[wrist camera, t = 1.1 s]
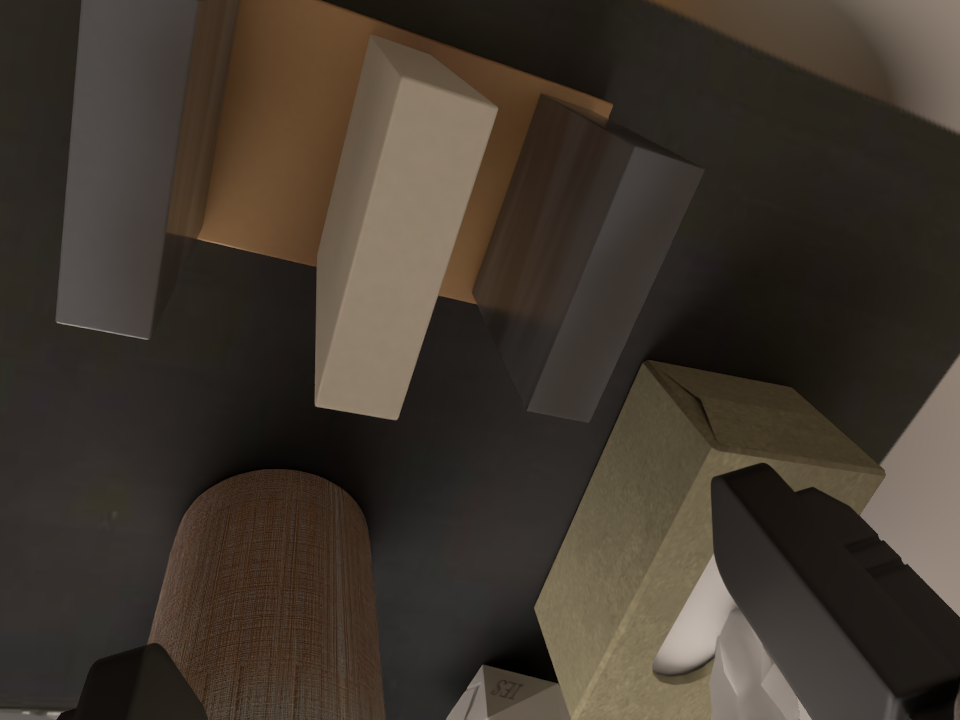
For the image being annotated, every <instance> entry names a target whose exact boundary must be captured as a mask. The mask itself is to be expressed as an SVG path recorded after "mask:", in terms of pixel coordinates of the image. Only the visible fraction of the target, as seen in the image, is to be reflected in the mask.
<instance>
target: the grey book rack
mask: <svg viewBox="0 0 960 720" xmlns="http://www.w3.org/2000/svg"><path fill="white" fill-rule="evenodd" d="M370 35H375V36H378V37H381V38H384V39H387V40H390V41H392V42H395V43H398V44H401V45H404V46H407V47H410V48H413V49H416V50H419V51H421V52H424V53H427V54H430V55H431V56H433V57H434V58H435V59H437V60H438V61H439V62H440V63H442V64H443V65H444V66H446V67H447V68H448V69H449V70H451V71H452V72H453V73H455V74H456V75H457V76H458V77H460V78H461V79H462V80H464V81H465V82H466V83H467V84H469V85H470V86H471V87H473V88H474V89H475V90H476V91H478V92H479V93H480V94H482V95H483V96H484V97H485V98H487V99H488V100H489V101H491V102H492V103H493V104H495V105H496V106H497V107H498V112H497V115H496V118H495V121H494V124H493V127H492V130H491V134H490V137H489V140H488V143H487V146H486V149H485V152H484V155H483V158H482V161H481V164H480V167H479V171H478V174H477V177H476V180H475V183H474V186H473V189H472V192H471V195H470V198H469V201H468V204H467V208H466V211H465V214H464V217H463V220H462V223H461V226H460V229H459V232H458V235H457V238H456V241H455V245H454V248H453V251H452V254H451V257H450V260H449V263H448V266H447V269H446V272H445V275H444V278H443V282H442V285H441V288H440V291H439V294H438V295H439V296H443V297H447V298H452V299H456V300H460V301H465V302H469V303H473V304H477V305H478V308H479V310H480V312H481V314H482V316H483V318H484V320H485V323H486V325H487V327H488V329H489V331H490V333H491V335H492V338H493V340H494V342H495V344H496V346H497V348H498V351H499V353H500V355H501V357H502V359H503V361H504V363H505V366H506V368H507V370H508V372H509V374H510V376H511V378H512V381H513V383H514V385H515V387H516V389H517V391H518V394H519V396H520V398H521V400H522V402H523V404H524V406H525V409H526V410H527V411H530V412H535V413H541V414H546V415H551V416H557V417H562V418H567V419H573V420H578V421H583V422H590V420H591V418H592V416H593V413H594V411H595V409H596V407H597V405H598V402H599V400H600V398H601V396H602V394H603V391H604V389H605V387H606V385H607V383H608V381H609V378H610V376H611V374H612V372H613V370H614V367H615V365H616V363H617V361H618V359H619V357H620V354H621V352H622V350H623V348H624V346H625V343H626V341H627V339H628V337H629V335H630V333H631V330H632V328H633V326H634V324H635V322H636V319H637V317H638V315H639V313H640V311H641V308H642V306H643V304H644V302H645V300H646V298H647V295H648V293H649V291H650V289H651V287H652V284H653V282H654V280H655V278H656V276H657V274H658V271H659V269H660V267H661V265H662V263H663V260H664V258H665V256H666V254H667V252H668V250H669V247H670V245H671V243H672V241H673V239H674V236H675V234H676V232H677V230H678V228H679V225H680V223H681V221H682V219H683V217H684V215H685V212H686V210H687V208H688V206H689V204H690V201H691V199H692V197H693V195H694V193H695V191H696V188H697V186H698V184H699V182H700V180H701V177H702V175H703V173H704V171H705V169H704V168H702V167H700V166H698V165H697V164H695V163H693V162H691V161H689V160H687V159H685V158H683V157H681V156H679V155H677V154H675V153H673V152H671V151H670V150H668V149H666V148H664V147H662V146H660V145H658V144H656V143H654V142H652V141H650V140H648V139H646V138H644V137H643V136H641V135H639V134H637V133H635V132H633V131H631V130H629V129H627V128H625V127H623V126H621V125H619V124H617V123H615V122H614V121H612V120H610V119H608V117H609V115H610V112H611V110H612V107H613V104H612V103H610V102H608V101H606V100H603V99H601V98H598V97H595V96H592V95H589V94H586V93H584V92H581V91H578V90H575V89H572V88H569V87H567V86H564V85H561V84H558V83H555V82H552V81H550V80H547V79H544V78H541V77H538V76H535V75H533V74H530V73H527V72H524V71H521V70H518V69H516V68H513V67H510V66H507V65H504V64H501V63H499V62H496V61H493V60H490V59H487V58H484V57H482V56H479V55H476V54H473V53H470V52H467V51H465V50H462V49H459V48H456V47H453V46H450V45H448V44H445V43H442V42H439V41H436V40H433V39H431V38H428V37H425V36H422V35H419V34H416V33H414V32H411V31H408V30H405V29H402V28H399V27H397V26H394V25H391V24H388V23H385V22H382V21H380V20H377V19H374V18H371V17H368V16H365V15H363V14H360V13H357V12H354V11H351V10H348V9H346V8H343V7H340V6H337V5H334V4H331V3H329V2H326V1H323V0H81V12H80V25H79V37H78V49H77V61H76V74H75V86H74V98H73V110H72V123H71V135H70V147H69V160H68V172H67V184H66V196H65V209H64V221H63V233H62V246H61V258H60V270H59V282H58V295H57V307H56V319H55V320H56V322H57V323H61V324H66V325H71V326H77V327H82V328H88V329H93V330H98V331H104V332H109V333H114V334H120V335H125V336H130V337H136V338H141V339H146V340H149V339H150V338H151V337H152V334H153V332H154V330H155V328H156V326H157V324H158V322H159V319H160V317H161V315H162V313H163V311H164V309H165V306H166V304H167V302H168V300H169V298H170V296H171V294H172V291H173V289H174V287H175V285H176V283H177V281H178V279H179V276H180V274H181V272H182V270H183V268H184V266H185V263H186V261H187V259H188V257H189V255H190V253H191V251H192V248H193V246H194V244H195V242H196V240H197V239H199V240H203V241H208V242H212V243H216V244H220V245H225V246H229V247H233V248H237V249H242V250H246V251H250V252H255V253H259V254H263V255H267V256H272V257H276V258H280V259H285V260H289V261H293V262H297V263H302V264H306V265H310V266H315V267H317V254H318V249H319V245H320V241H321V237H322V233H323V229H324V224H325V220H326V216H327V212H328V208H329V204H330V200H331V195H332V191H333V187H334V183H335V179H336V175H337V171H338V166H339V162H340V158H341V154H342V150H343V146H344V141H345V137H346V133H347V129H348V125H349V121H350V117H351V112H352V108H353V104H354V100H355V96H356V92H357V88H358V83H359V79H360V75H361V71H362V67H363V63H364V58H365V54H366V50H367V46H368V42H369V38H370Z"/></svg>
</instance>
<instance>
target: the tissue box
mask: <svg viewBox="0 0 960 720" xmlns="http://www.w3.org/2000/svg"><path fill="white" fill-rule="evenodd" d="M761 462H763V463H767V464H768V465H770V466H771V467H772V468H773V469H774V470H775V471H776V472H777V473H778V474H779V475H780V476H781V477H782V478H783V480H784V481H785V482H786V483H787V484H788V485H789V486H790V487H791V488H792V489H793V491H794V492H797V491H800V490H803V489H806V488H810V487H815V488H817V489H818V490H820V491H822V492H824V493H826V494H828V495H830V496H832V497H833V498H835V499H837V500H839V501H841V502H843V503H845V504H847V505H849V506H850V507H851V508H852V509H853V510H854V511H855V512H856V513H857V514H858V515H859V516H860V514H861V512H862V511H863V509H864V508H865V506H866V505H867V503H868V502H869V500H870V499H871V497H872V496H873V494H874V493H875V491H876V490H877V488H878V487H879V485H880V484H881V482H882V481H883V479H884V478H885V475H886V474H885V470H884V469H883V468H882V467H881V466H879V465H878V464H877V463H876V462H875V461H874V460H873V459H872V458H870V457H869V456H868V455H867V454H866V453H865V452H864V451H863V450H861V449H860V448H859V447H858V446H857V445H856V444H855V443H854V442H852V441H851V440H850V439H849V438H848V437H847V436H846V435H845V434H843V433H842V432H841V431H840V430H839V429H838V428H837V427H836V426H834V425H833V424H832V423H831V422H830V421H829V420H828V419H827V418H825V417H824V416H823V415H822V414H821V413H820V412H819V411H818V410H816V409H815V408H814V407H813V406H812V405H811V404H810V403H809V402H808V401H806V400H805V399H804V398H803V397H802V396H801V395H800V394H799V393H797V392H796V391H795V390H794V389H793V388H792V387H787V386H782V385H777V384H772V383H766V382H761V381H756V380H751V379H746V378H740V377H735V376H730V375H725V374H720V373H714V372H709V371H704V370H699V369H694V368H688V367H683V366H678V365H673V364H668V363H662V362H657V361H652V360H646V361H644V362H643V363H642V365H641V367H640V369H639V372H638V374H637V376H636V378H635V381H634V383H633V385H632V387H631V390H630V392H629V394H628V396H627V399H626V401H625V403H624V406H623V408H622V410H621V412H620V415H619V417H618V419H617V421H616V424H615V426H614V428H613V430H612V433H611V435H610V437H609V439H608V442H607V444H606V446H605V448H604V451H603V453H602V455H601V458H600V460H599V462H598V464H597V467H596V469H595V471H594V473H593V476H592V478H591V480H590V482H589V485H588V487H587V489H586V491H585V494H584V496H583V498H582V500H581V503H580V505H579V507H578V510H577V512H576V514H575V516H574V519H573V521H572V523H571V525H570V528H569V530H568V532H567V534H566V537H565V539H564V541H563V543H562V546H561V548H560V550H559V552H558V555H557V557H556V559H555V562H554V564H553V566H552V568H551V571H550V573H549V575H548V577H547V580H546V582H545V584H544V586H543V589H542V591H541V593H540V595H539V598H538V600H537V602H536V604H535V607H534V609H535V612H536V615H537V618H538V621H539V624H540V627H541V630H542V633H543V636H544V639H545V642H546V645H547V648H548V651H549V654H550V657H551V660H552V663H553V666H554V669H555V672H556V675H557V678H558V681H559V684H560V688H561V691H562V694H563V697H564V700H565V703H566V706H567V709H568V712H569V715H570V718H571V719H572V720H800V712H799V707H798V702H797V697H796V694H795V693H794V691H793V690H792V688H791V687H790V685H789V684H788V682H787V681H786V679H785V677H784V676H783V674H782V673H781V671H780V670H779V668H778V667H777V665H776V664H775V662H774V661H773V659H772V658H771V656H770V655H769V653H768V652H767V650H766V649H765V647H764V645H763V644H762V642H761V641H760V639H759V638H758V636H757V635H756V633H755V632H754V630H753V629H752V627H751V626H750V624H749V623H748V621H747V620H746V618H745V617H744V615H743V613H742V612H741V610H740V609H739V607H738V606H737V604H736V603H735V601H734V600H733V598H732V597H731V595H730V594H729V592H728V590H727V588H726V587H725V585H724V583H723V580H722V578H721V576H720V573H719V570H718V568H717V564H716V561H715V557H714V550H713V530H712V508H711V480H712V478H713V477H715V476H718V475H721V474H725V473H728V472H731V471H735V470H738V469H741V468H745V467H748V466H751V465H755V464H758V463H761Z"/></svg>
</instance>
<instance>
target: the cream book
mask: <svg viewBox="0 0 960 720" xmlns="http://www.w3.org/2000/svg"><path fill="white" fill-rule="evenodd" d="M497 112H498V107H497V106H496V105H495V104H493V103H492V102H491V101H489V100H488V99H487V98H485V97H484V96H483V95H482V94H480V93H479V92H478V91H476V90H475V89H474V88H473V87H471V86H470V85H469V84H467V83H466V82H465V81H464V80H462V79H461V78H460V77H458V76H457V75H456V74H455V73H453V72H452V71H451V70H449V69H448V68H447V67H446V66H444V65H443V64H442V63H440V62H439V61H438V60H437V59H435V58H434V57H433V56H431V55H430V54H427V53H424V52H421V51H419V50H416V49H413V48H410V47H407V46H404V45H401V44H398V43H395V42H392V41H390V40H387V39H384V38H381V37H378V36H375V35H370V38H369V42H368V46H367V50H366V54H365V58H364V63H363V67H362V71H361V75H360V79H359V83H358V88H357V92H356V96H355V100H354V104H353V108H352V112H351V117H350V121H349V125H348V129H347V133H346V137H345V141H344V146H343V150H342V154H341V158H340V162H339V166H338V171H337V175H336V179H335V183H334V187H333V191H332V195H331V200H330V204H329V208H328V212H327V216H326V220H325V224H324V229H323V233H322V237H321V241H320V245H319V249H318V254H317V290H316V351H315V406H317V407H321V408H327V409H333V410H339V411H345V412H351V413H356V414H362V415H368V416H374V417H380V418H386V419H392V420H397V419H398V417H399V414H400V411H401V408H402V405H403V402H404V399H405V396H406V393H407V390H408V386H409V383H410V380H411V377H412V374H413V371H414V368H415V365H416V362H417V359H418V356H419V353H420V349H421V346H422V343H423V340H424V337H425V334H426V331H427V328H428V325H429V322H430V319H431V316H432V312H433V309H434V306H435V303H436V300H437V297H438V294H439V291H440V288H441V285H442V282H443V278H444V275H445V272H446V269H447V266H448V263H449V260H450V257H451V254H452V251H453V248H454V245H455V241H456V238H457V235H458V232H459V229H460V226H461V223H462V220H463V217H464V214H465V211H466V208H467V204H468V201H469V198H470V195H471V192H472V189H473V186H474V183H475V180H476V177H477V174H478V171H479V167H480V164H481V161H482V158H483V155H484V152H485V149H486V146H487V143H488V140H489V137H490V134H491V130H492V127H493V124H494V121H495V118H496V115H497Z"/></svg>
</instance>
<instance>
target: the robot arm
mask: <svg viewBox="0 0 960 720" xmlns="http://www.w3.org/2000/svg"><path fill="white" fill-rule="evenodd" d="M711 508H712V530H713V550H714V557H715V561H716V564H717V568H718V570H719V573H720V576H721V578H722V580H723V583H724V585H725V587H726V588H727V590H728V592H729V594H730V595H731V597H732V598H733V600H734V601H735V603H736V604H737V606H738V607H739V609H740V610H741V612H742V613H743V615H744V617H745V618H746V620H747V621H748V623H749V624H750V626H751V627H752V629H753V630H754V632H755V633H756V635H757V636H758V638H759V639H760V641H761V642H762V644H763V645H764V647H765V649H766V650H767V652H768V653H769V655H770V656H771V658H772V659H773V661H774V662H775V664H776V665H777V667H778V668H779V670H780V671H781V673H782V674H783V676H784V677H785V679H786V681H787V682H788V684H789V685H790V687H791V688H792V690H793V691H794V693H795V694H796V696H797V697H798V699H799V700H800V702H801V703H802V705H803V706H804V708H805V709H806V711H807V713H808V714H809V716H810V717H811V719H812V720H960V617H959V616H958V615H957V614H956V613H955V612H954V611H953V610H952V609H951V608H950V607H949V606H948V605H947V604H946V603H945V602H944V601H943V600H942V599H941V598H940V597H939V596H938V595H937V594H936V593H935V592H934V591H933V590H932V589H931V588H930V587H929V586H928V585H927V584H926V583H925V582H924V581H923V579H921V578H920V576H919V575H917V574H916V572H915V571H914V570H913V569H912V568H911V567H910V566H909V565H908V564H906V565H904V564H903V562H902V560H901V557H900V556H899V555H898V554H897V553H896V552H895V551H894V550H893V549H892V548H891V547H890V546H889V545H888V544H887V543H886V542H885V541H883V540H882V541H881V540H880V539H879V537H878V534H877V533H876V532H875V531H874V530H873V529H872V528H871V527H870V526H869V525H868V524H867V523H866V522H865V521H864V520H863V519H862V518H861V517H860V516H859V515H858V514H857V513H856V512H855V511H854V510H853V509H852V508H851V507H850V506H849V505H847V504H845V503H843V502H841V501H839V500H837V499H835V498H833V497H832V496H830V495H828V494H826V493H824V492H822V491H820V490H818V489H817V488H815V487H810V488H806V489H803V490H800V491H797V492H794V491H793V489H792V488H791V487H790V486H789V485H788V484H787V483H786V482H785V481H784V480H783V478H782V477H781V476H780V475H779V474H778V473H777V472H776V471H775V470H774V469H773V468H772V467H771V466H770V465H768V464H767V463H763V462H761V463H758V464H755V465H751V466H748V467H745V468H741V469H738V470H735V471H731V472H728V473H725V474H721V475H718V476H715V477H713V478H712V480H711ZM57 720H208V717H207V714H206V711H205V709H204V707H203V705H202V703H201V702H200V700H199V699H198V697H197V696H196V694H195V693H194V691H193V690H192V688H191V687H190V685H189V684H188V682H187V681H186V680H185V678H184V677H183V675H182V674H181V672H180V671H179V669H178V668H177V666H176V665H175V663H174V662H173V660H172V659H171V657H170V656H169V654H168V653H167V651H166V650H165V649H164V648H163V647H162V646H161V645H160V644H158V643H151V644H148V645H145V646H141V647H138V648H135V649H131V650H128V651H125V652H121V653H118V654H115V655H111V656H108V657H105V658H101V659H99V660H97V661H96V662H95V663H94V664H93V665H92V667H91V668H90V670H89V673H88V675H87V679H86V682H85V685H84V688H83V691H82V694H81V697H80V700H79V703H78V706H77V708H76V709H72V710H69V711H66V712H63V713H61V714H60V715H59V717H58V718H57Z"/></svg>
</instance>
